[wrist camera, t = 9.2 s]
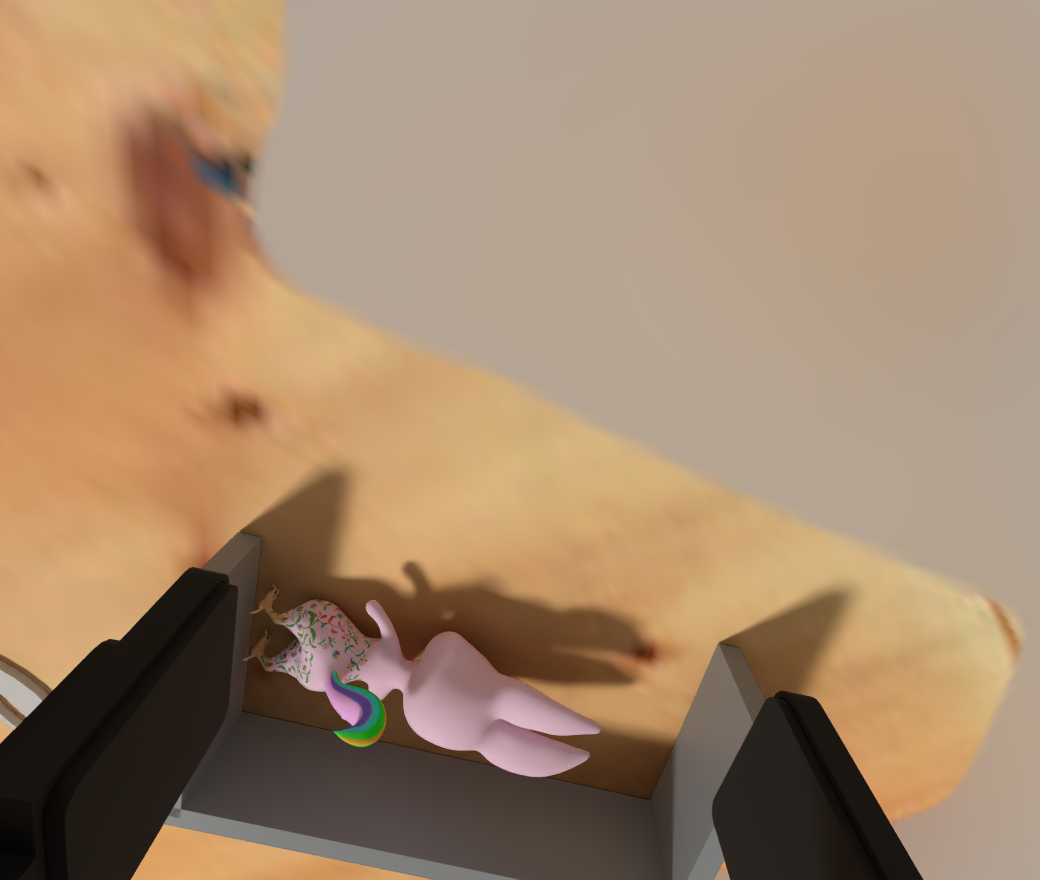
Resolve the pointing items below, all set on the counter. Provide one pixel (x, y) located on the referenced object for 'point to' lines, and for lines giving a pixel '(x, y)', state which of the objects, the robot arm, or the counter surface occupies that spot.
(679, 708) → the counter surface
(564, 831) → the box
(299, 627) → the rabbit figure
